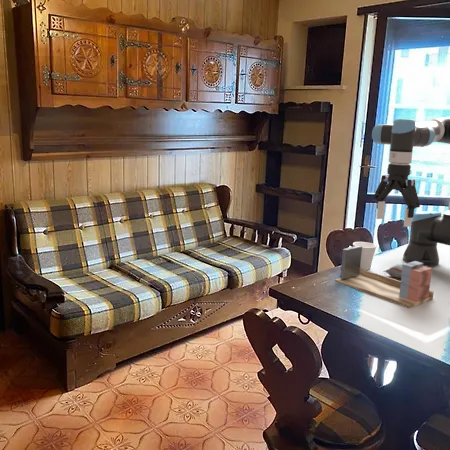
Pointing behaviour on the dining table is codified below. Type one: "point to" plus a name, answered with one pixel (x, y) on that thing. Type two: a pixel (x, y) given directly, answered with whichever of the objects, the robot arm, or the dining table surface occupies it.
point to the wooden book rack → (396, 285)
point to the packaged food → (395, 271)
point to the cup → (366, 254)
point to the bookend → (351, 262)
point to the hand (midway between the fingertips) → (393, 222)
